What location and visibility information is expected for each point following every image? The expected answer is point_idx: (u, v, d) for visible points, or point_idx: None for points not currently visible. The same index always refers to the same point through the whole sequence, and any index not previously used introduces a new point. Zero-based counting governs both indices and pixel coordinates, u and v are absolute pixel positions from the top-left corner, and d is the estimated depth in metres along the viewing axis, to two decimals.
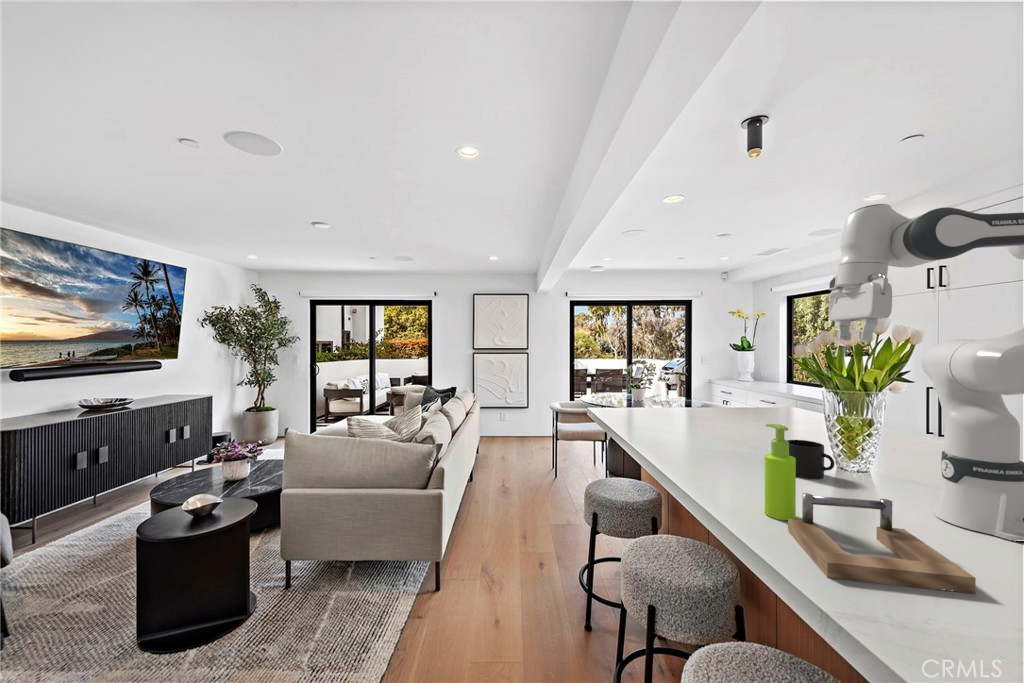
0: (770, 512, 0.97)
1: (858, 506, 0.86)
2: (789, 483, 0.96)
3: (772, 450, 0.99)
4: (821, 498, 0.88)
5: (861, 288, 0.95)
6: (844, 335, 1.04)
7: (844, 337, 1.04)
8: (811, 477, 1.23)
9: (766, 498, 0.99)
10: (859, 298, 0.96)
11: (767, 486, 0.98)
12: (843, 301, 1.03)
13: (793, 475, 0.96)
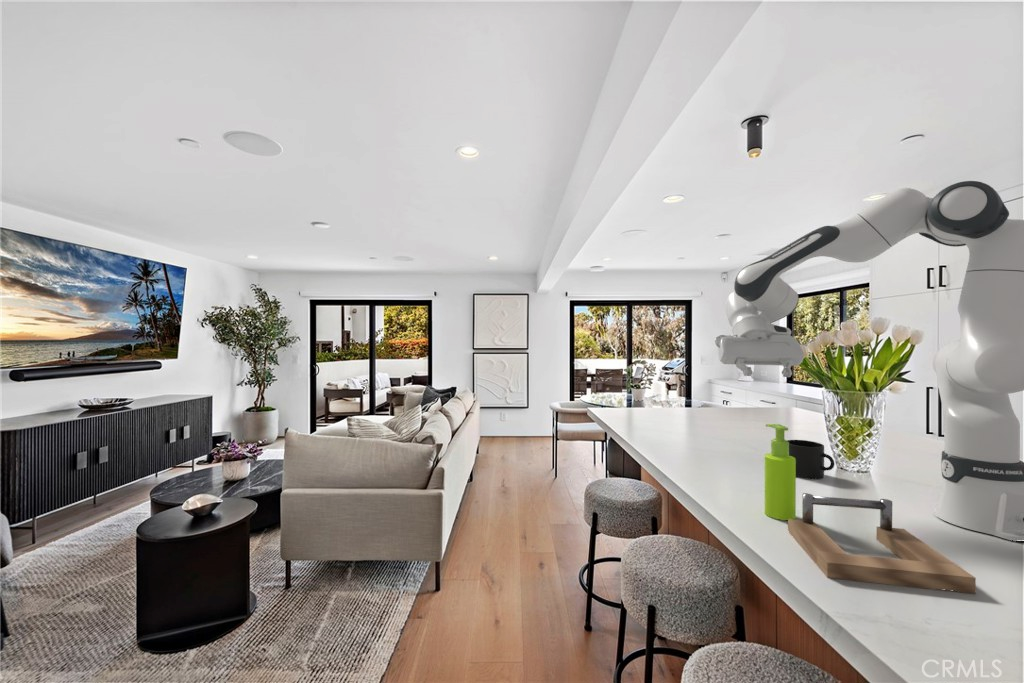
0: (770, 512, 0.97)
1: (858, 506, 0.86)
2: (789, 483, 0.96)
3: (772, 450, 0.99)
4: (821, 498, 0.88)
5: None
6: (783, 373, 1.13)
7: (783, 374, 1.12)
8: (811, 477, 1.23)
9: (766, 498, 0.99)
10: None
11: (767, 486, 0.98)
12: None
13: (793, 475, 0.96)
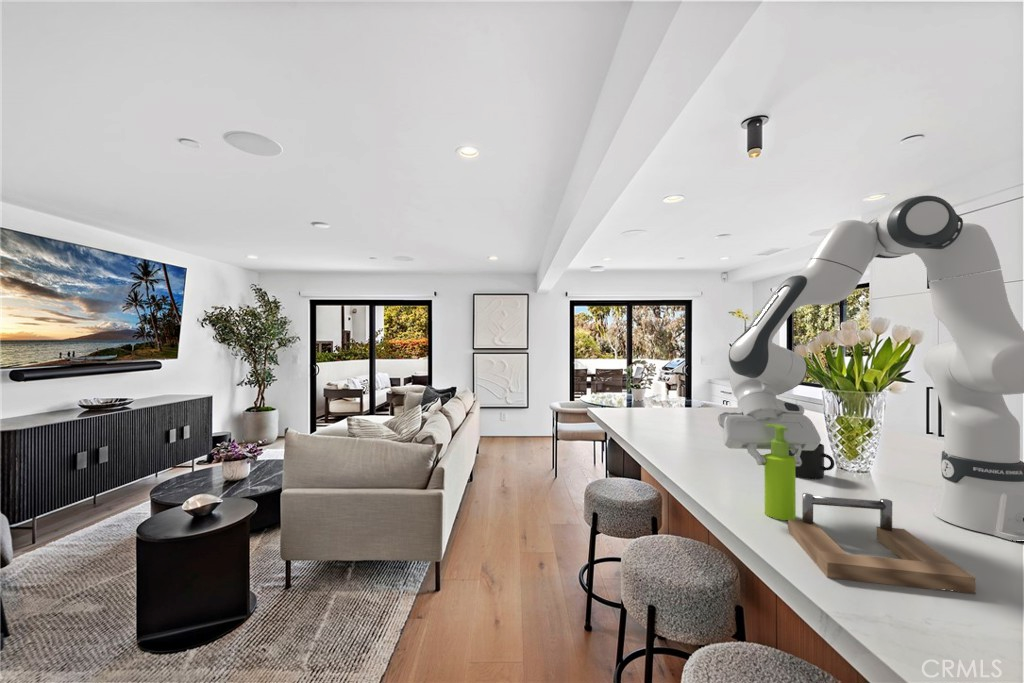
0: (770, 512, 0.97)
1: (858, 506, 0.86)
2: (789, 483, 0.96)
3: (772, 450, 0.99)
4: (821, 498, 0.88)
5: None
6: None
7: None
8: (811, 477, 1.23)
9: (766, 498, 0.99)
10: None
11: (767, 486, 0.98)
12: None
13: (793, 475, 0.96)
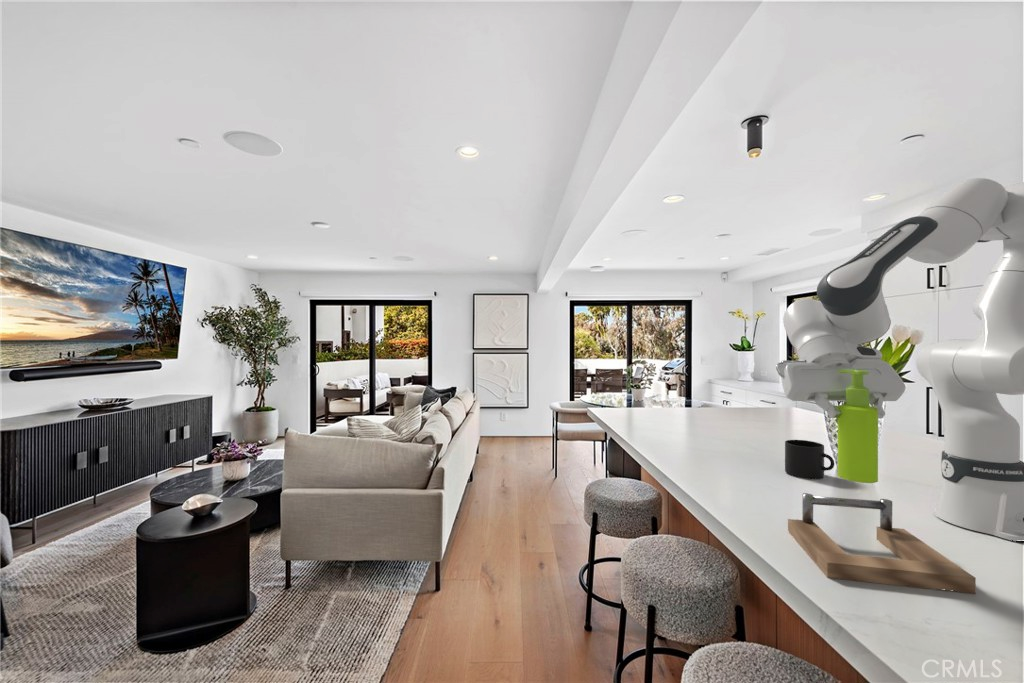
0: (847, 473, 0.81)
1: (858, 506, 0.86)
2: (871, 438, 0.79)
3: (848, 399, 0.82)
4: (821, 498, 0.88)
5: None
6: None
7: None
8: (811, 477, 1.23)
9: (841, 457, 0.82)
10: None
11: (843, 442, 0.82)
12: None
13: (876, 428, 0.79)
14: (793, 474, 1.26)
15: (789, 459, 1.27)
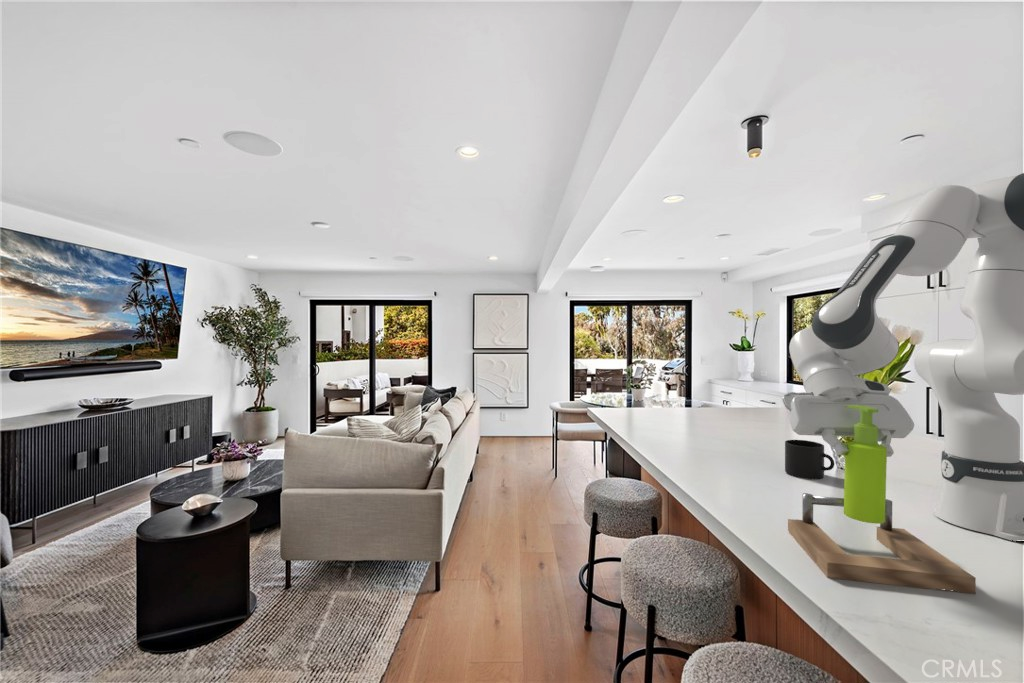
0: (854, 512, 0.79)
1: None
2: (879, 477, 0.77)
3: (856, 436, 0.80)
4: (821, 498, 0.88)
5: None
6: None
7: None
8: (811, 477, 1.23)
9: (847, 495, 0.81)
10: None
11: (850, 480, 0.80)
12: None
13: (884, 467, 0.78)
14: (793, 474, 1.26)
15: (789, 459, 1.27)
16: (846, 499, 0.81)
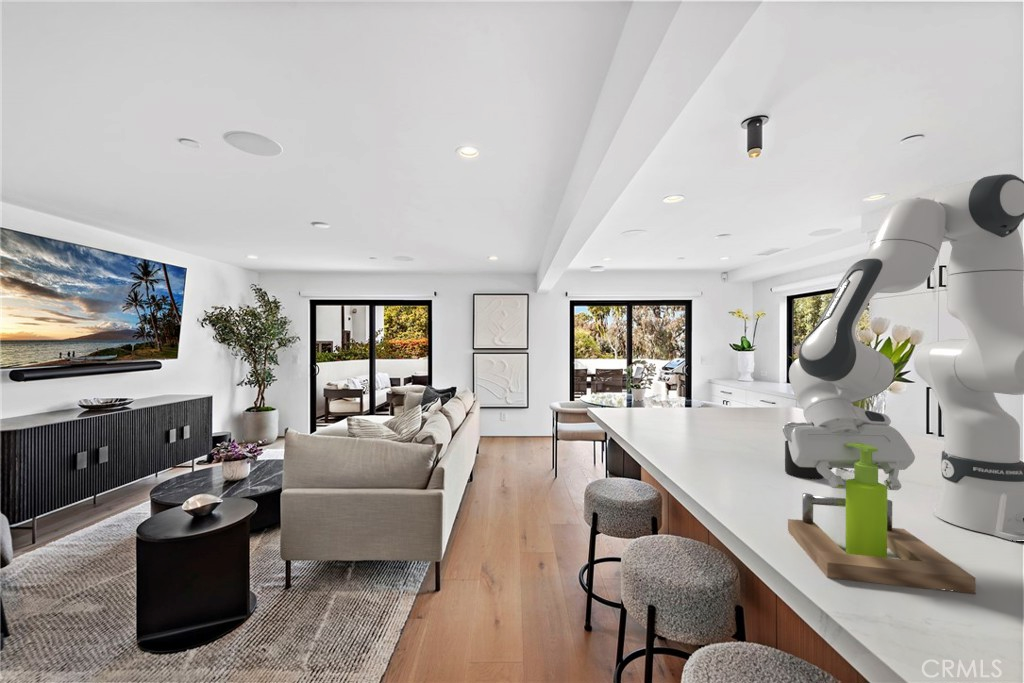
0: (856, 552, 0.79)
1: None
2: (880, 518, 0.77)
3: (856, 475, 0.80)
4: (821, 498, 0.88)
5: None
6: (887, 483, 0.81)
7: (888, 486, 0.80)
8: (811, 477, 1.23)
9: (849, 534, 0.81)
10: None
11: (851, 519, 0.80)
12: None
13: (885, 507, 0.78)
14: (793, 474, 1.26)
15: (789, 459, 1.27)
16: (848, 538, 0.81)
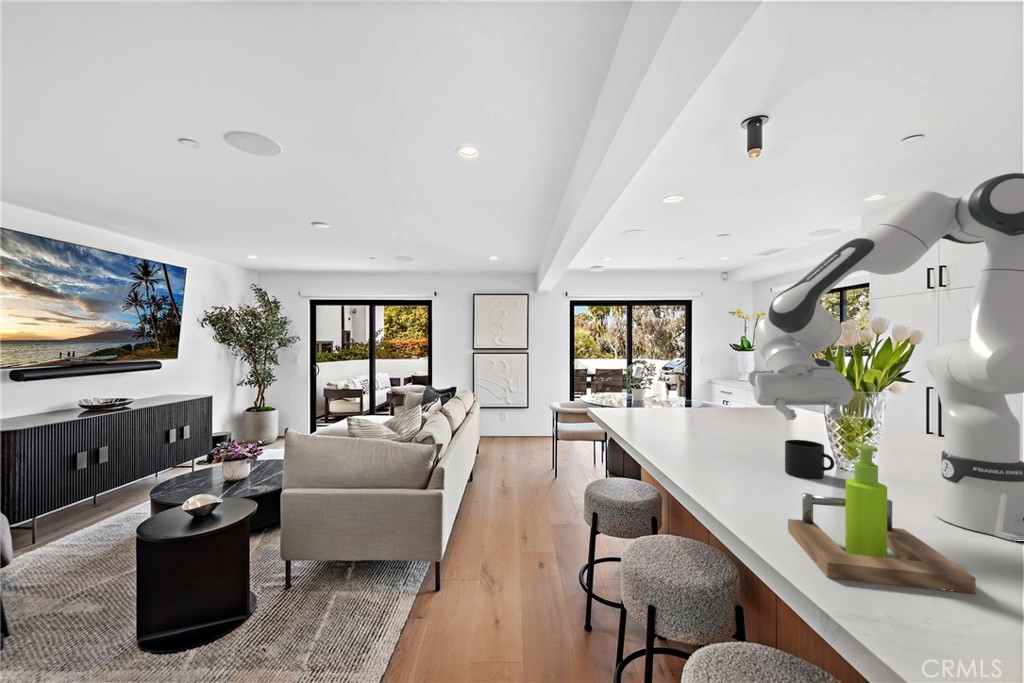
0: (856, 552, 0.79)
1: None
2: (880, 518, 0.77)
3: (856, 475, 0.80)
4: (821, 498, 0.88)
5: None
6: (831, 415, 0.98)
7: (832, 416, 0.98)
8: (811, 477, 1.23)
9: (849, 534, 0.81)
10: None
11: (851, 519, 0.80)
12: None
13: (885, 507, 0.78)
14: (793, 474, 1.26)
15: (789, 459, 1.27)
16: (848, 538, 0.81)
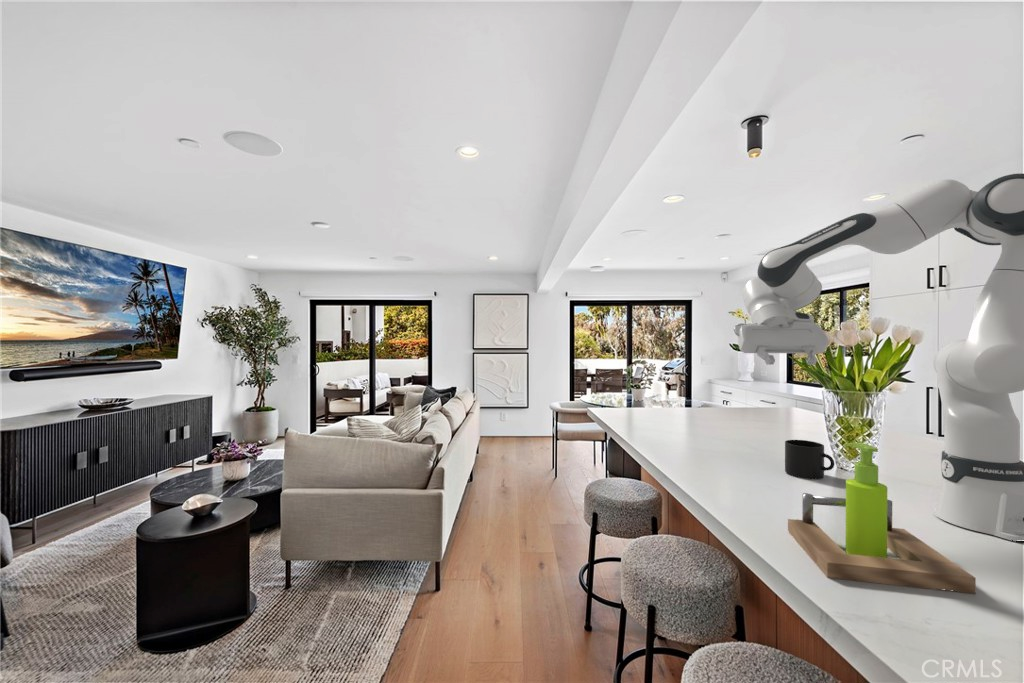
0: (856, 552, 0.79)
1: None
2: (880, 518, 0.77)
3: (857, 475, 0.80)
4: (821, 498, 0.88)
5: None
6: (807, 360, 1.08)
7: (808, 362, 1.08)
8: (811, 477, 1.23)
9: (849, 534, 0.81)
10: None
11: (851, 519, 0.80)
12: None
13: (885, 507, 0.78)
14: (793, 474, 1.26)
15: (789, 459, 1.27)
16: (848, 538, 0.81)
